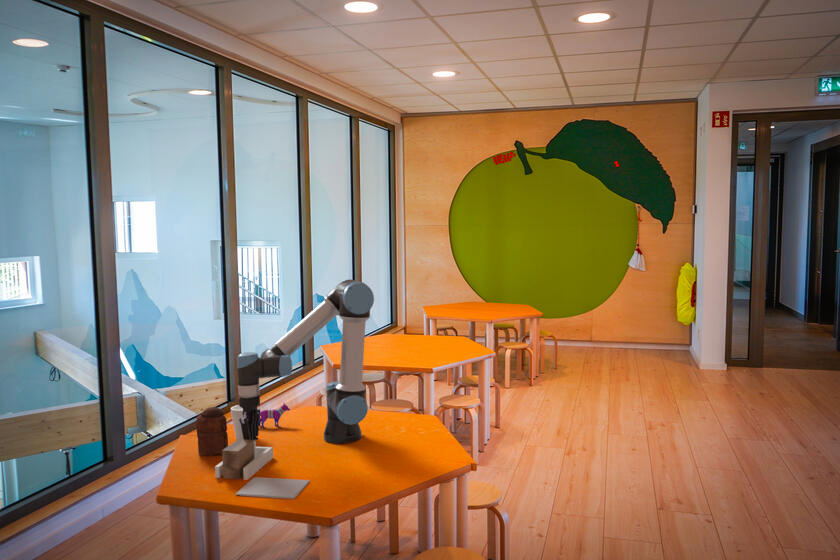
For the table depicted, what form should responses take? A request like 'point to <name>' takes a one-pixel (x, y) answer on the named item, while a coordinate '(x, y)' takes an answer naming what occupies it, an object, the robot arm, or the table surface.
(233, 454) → the walnut block
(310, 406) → the table surface
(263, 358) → the robot arm
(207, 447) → the wooden figurine
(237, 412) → the foam cup
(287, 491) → the mat
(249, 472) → the bay
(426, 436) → the table surface
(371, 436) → the table surface
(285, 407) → the toy dog
